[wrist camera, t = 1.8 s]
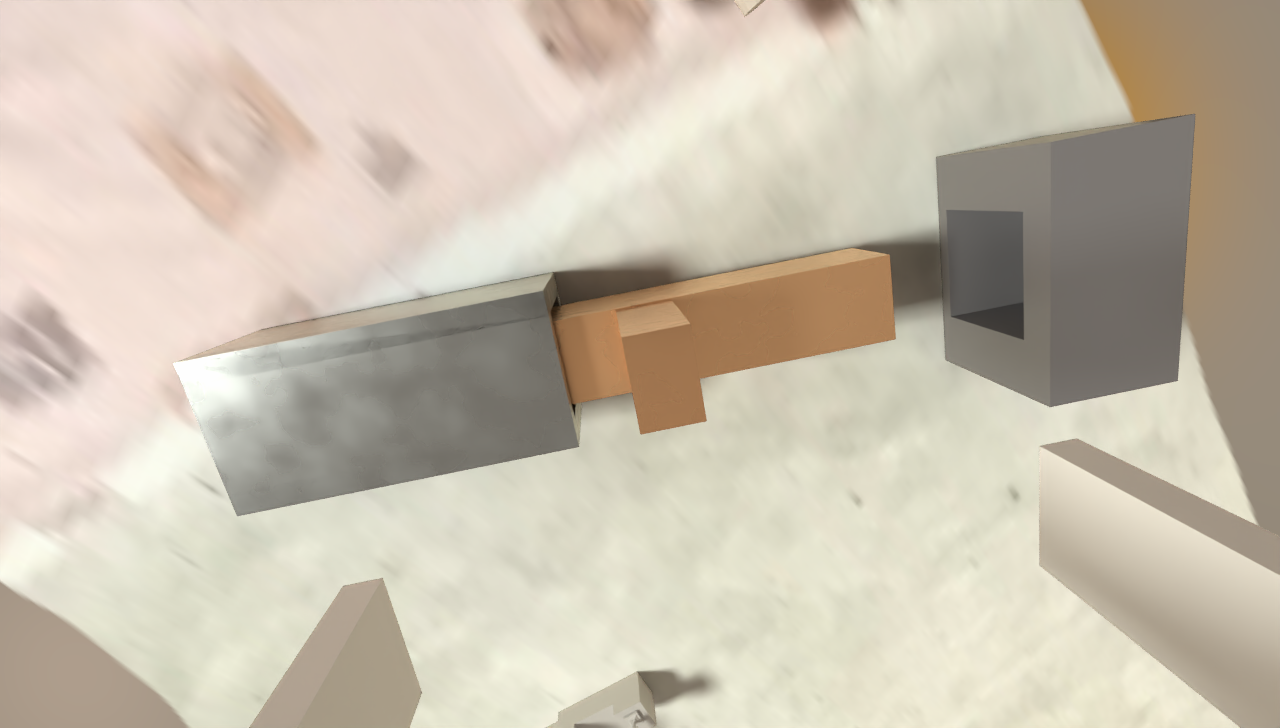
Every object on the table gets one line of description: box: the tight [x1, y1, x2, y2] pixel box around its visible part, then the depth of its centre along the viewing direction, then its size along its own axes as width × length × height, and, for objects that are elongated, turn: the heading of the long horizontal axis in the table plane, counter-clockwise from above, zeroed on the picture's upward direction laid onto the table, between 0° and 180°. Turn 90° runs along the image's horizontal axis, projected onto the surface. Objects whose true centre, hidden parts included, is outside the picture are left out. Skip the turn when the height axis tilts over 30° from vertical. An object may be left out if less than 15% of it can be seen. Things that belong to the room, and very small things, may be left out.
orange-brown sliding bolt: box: [550, 248, 896, 434], centre depth 29 cm, size 4×30×10 cm, turn 101°
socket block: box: [936, 114, 1195, 407], centre depth 32 cm, size 12×6×9 cm, turn 11°
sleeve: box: [173, 272, 582, 516], centre depth 32 cm, size 8×17×8 cm, turn 101°
